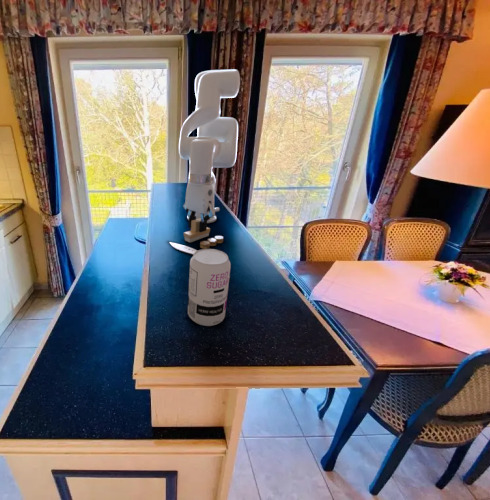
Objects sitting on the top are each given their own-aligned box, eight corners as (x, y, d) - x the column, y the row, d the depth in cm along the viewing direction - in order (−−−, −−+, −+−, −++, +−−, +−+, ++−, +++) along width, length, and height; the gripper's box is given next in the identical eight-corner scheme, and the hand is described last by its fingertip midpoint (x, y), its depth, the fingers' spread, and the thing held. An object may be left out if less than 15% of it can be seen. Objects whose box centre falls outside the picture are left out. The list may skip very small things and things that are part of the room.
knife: (168, 239, 100) (188, 236, 102) (168, 244, 100) (188, 241, 102) (205, 279, 73) (231, 274, 75) (204, 284, 74) (231, 279, 76)
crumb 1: (204, 244, 98) (204, 240, 98) (211, 247, 96) (211, 242, 95) (198, 246, 96) (198, 242, 96) (205, 249, 94) (205, 245, 93)
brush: (203, 233, 107) (204, 215, 104) (209, 235, 105) (211, 218, 102) (183, 240, 101) (184, 222, 98) (189, 243, 99) (190, 224, 96)
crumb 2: (217, 239, 102) (218, 234, 102) (224, 241, 100) (225, 237, 99) (212, 241, 100) (212, 237, 100) (219, 244, 98) (219, 239, 98)
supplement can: (199, 300, 68) (203, 244, 62) (231, 314, 63) (238, 254, 57) (180, 317, 62) (182, 257, 56) (212, 333, 58) (218, 270, 51)
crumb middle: (211, 241, 100) (211, 237, 100) (218, 244, 98) (218, 240, 97) (205, 243, 98) (205, 239, 98) (212, 246, 96) (212, 242, 95)
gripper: (227, 181, 90) (222, 233, 98) (190, 173, 102) (188, 221, 110) (212, 184, 86) (207, 238, 94) (175, 176, 98) (174, 225, 106)
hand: (197, 228), depth 102 cm, fingers open, 4 cm apart
